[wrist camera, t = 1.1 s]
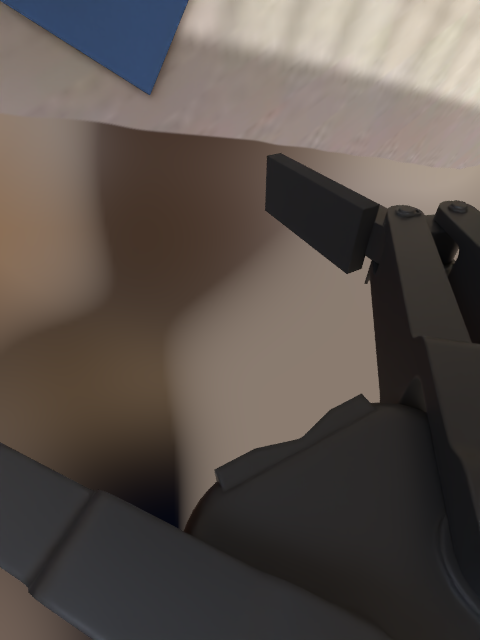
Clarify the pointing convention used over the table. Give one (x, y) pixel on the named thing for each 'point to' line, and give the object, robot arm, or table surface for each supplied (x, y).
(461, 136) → the table surface
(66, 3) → the blue cloth
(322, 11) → the table surface
